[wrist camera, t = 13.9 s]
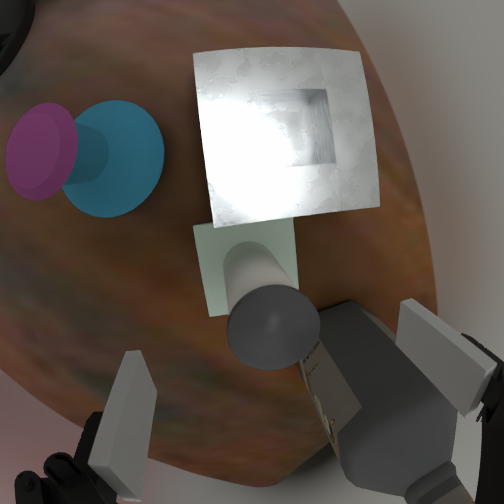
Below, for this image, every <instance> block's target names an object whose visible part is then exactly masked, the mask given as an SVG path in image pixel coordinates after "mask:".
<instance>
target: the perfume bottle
mask: <svg viewBox="0 0 504 504" xmlns="http://www.w3.org/2000/svg"><path fill="white" fill-rule="evenodd" d="M164 156H165V148H164V142H163V137H162V135H161V132H160V130H159V127H158V125H157V124H156V122H155V121H154V119H153V118H152V116H151V115H150V114H148V113H147V112H146V111H145V110H144V109H143V108H141V107H139V106H138V105H136V104H134V103H130V102H127V101H120V100H112V101H105V102H102V103H99V104H96V105H94V106H92V107H90V108H88V109H87V110H85V111H84V112H83V113H81V114H80V115H79V116H78V117H77V118H76V119H75V120H73V118H72V116H71V114H70V113H69V112H68V111H67V110H66V109H65V108H64V107H62V106H61V105H59V104H55V103H42V104H39V105H36V106H34V107H32V108H31V109H29V110H28V111H27V112H26V113H24V114H23V116H22V117H21V118H20V119H19V120H18V121H17V123H16V125H15V126H14V128H13V130H12V132H11V134H10V136H9V139H8V143H7V147H6V153H5V167H6V173H7V176H8V180H9V182H10V184H11V186H12V187H13V189H14V190H15V191H16V193H18V194H19V195H20V196H21V197H23V198H25V199H27V200H33V201H38V200H43V199H46V198H48V197H50V196H52V195H53V194H54V193H56V192H57V191H58V190H59V189H60V188H61V187H62V189H63V191H64V193H65V194H66V196H67V198H68V199H69V200H70V201H71V202H72V203H73V205H74V206H75V207H77V208H78V209H80V210H81V211H83V212H84V213H87V214H89V215H92V216H96V217H102V218H105V217H115V216H119V215H123V214H125V213H127V212H129V211H131V210H133V209H134V208H136V207H137V206H138V205H140V204H141V203H142V202H143V201H144V200H145V199H146V198H147V197H148V196H149V195H150V194H151V192H152V191H153V189H154V188H155V186H156V185H157V183H158V181H159V178H160V176H161V173H162V170H163V165H164Z"/></svg>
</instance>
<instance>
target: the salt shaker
mask: <svg viewBox="0 0 504 504" xmlns="http://www.w3.org/2000/svg"><path fill="white" fill-rule="evenodd" d="M223 271H224V280H225V289H226V298H227V306H228V314H229V317H228V321H227V335H228V343H229V346H230V349H231V351H232V352H233V354H234V355H235V356H236V358H237V359H238V360H240V361H241V362H242V363H244V364H245V365H247V366H249V367H252V368H255V369H259V370H278V369H282V368H286V367H288V366H291V365H293V364H295V363H297V362H298V361H300V360H301V359H302V358H304V357H305V356H306V355H307V354H308V353H309V352H310V351H311V349H312V348H313V346H314V345H315V343H316V341H317V339H318V336H319V332H320V318H319V314H318V312H317V310H316V308H315V306H314V305H313V304H312V302H311V301H310V300H309V298H308V297H307V296H306V295H305V294H304V293H302V292H301V291H299V290H298V289H297V288H296V286H295V285H294V283H293V282H292V281H291V279H290V278H289V276H288V275H287V274H286V272H285V271H284V270H283V268H282V267H281V265H280V264H279V263H278V261H277V260H276V258H275V257H274V256H273V254H272V253H271V252H270V250H269V249H268V248H267V247H266V246H264V245H263V244H260V243H258V242H253V241H247V242H242V243H239V244H237V245H235V246H234V247H233V248H231V249H230V251H229V252H228V253H227V255H226V257H225V259H224V263H223Z"/></svg>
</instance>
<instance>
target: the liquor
mask: <svg viewBox="0 0 504 504" xmlns="http://www.w3.org/2000/svg"><path fill="white" fill-rule="evenodd" d="M318 314H319V318H320V332H319V336H318V339H317V341H316V343H315V345H314V346H313V348H312V349H311V351H310V352H309V353H308V354H307V355H306V356H305V357H304V358H302V359H301V360H300V361H298V365H299V369H300V374H301V376H302V378H303V381H304V383H305V385H306V387H307V390H308V392H309V394H310V397H311V399H312V401H313V403H314V406H315V408H316V410H317V412H318V415H319V417H320V419H321V422H322V424H323V426H324V428H325V431H326V433H327V435H328V437H329V440H330V442H331V444H332V446H333V449H334V451H335V453H336V455H337V458H338V460H339V462H340V464H341V467H342V469H343V471H344V474H345V476H346V478H347V479H348V480H349V481H350V482H351V483H353V484H354V485H355V486H357V487H360V488H364V489H368V490H372V491H377V492H381V493H386V494H391V495H396V496H402V497H404V498H405V501H406V503H407V504H475V502H474V500H473V499H472V497H471V496H470V494H469V493H468V492H467V490H466V489H465V487H464V486H463V484H462V483H461V481H460V480H459V478H458V477H457V475H456V467H455V466H454V464H453V463H452V462H451V458H452V451H453V445H454V438H455V431H456V422H457V412H458V410H457V409H456V408H455V407H454V406H453V405H452V404H451V403H450V402H449V400H448V399H447V398H446V397H445V396H444V395H443V394H442V393H441V392H440V391H439V390H438V389H437V387H436V386H435V385H434V384H433V383H432V382H431V381H430V380H429V379H428V378H427V377H426V376H425V375H424V374H423V373H422V372H421V370H420V369H419V368H418V367H417V366H416V365H415V364H414V363H413V362H412V361H411V360H410V359H409V358H408V357H407V356H406V355H405V354H404V353H403V352H402V351H401V350H400V349H399V348H398V347H397V346H396V345H395V342H396V335H395V334H394V333H393V332H392V331H391V330H390V329H389V328H388V327H387V326H386V325H385V324H383V323H382V322H381V321H380V320H379V319H378V318H377V317H376V316H375V315H374V314H373V313H372V312H371V311H370V310H368V309H366V308H364V307H362V306H360V305H358V304H357V303H355V302H353V301H350V302H346V303H343V304H340V305H337V306H335V307H332V308H329V309H326V310H323V311H320V312H318Z"/></svg>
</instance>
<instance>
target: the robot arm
mask: <svg viewBox="0 0 504 504" xmlns="http://www.w3.org/2000/svg"><path fill="white" fill-rule="evenodd" d="M33 16H34V2H33V0H0V75H1V74H2V72H3V71H4V70H5V69H6V67H7V66H8V65H9V63H10V62H11V61H12V59H13V58H14V56H15V55H16V53H17V52H18V50H19V48H20V47H21V45H22V43H23V41H24V39H25V38H26V35H27V33H28V31H29V29H30V26H31V23H32V20H33ZM395 345H396V346H397V347H398V348H399V349H400V350H401V351H402V352H403V353H404V354H405V355H406V356H407V357H408V358H409V359H410V360H411V361H412V362H413V363H414V364H415V365H416V366H417V367H418V368H419V369H420V370H421V372H422V373H423V374H424V375H425V376H426V377H427V378H428V379H429V380H430V381H431V382H432V383H433V384H434V385H435V386H436V387H437V389H438V390H439V391H440V392H441V393H442V394H443V395H444V396H445V397H446V398H447V399H448V400H449V402H450V403H451V404H452V405H453V406H454V407H455V408H456V409H457V410H458V411H459V412H460V414H461V415H462V416H463V417H464V418H466V417H467V416H469V415H470V414H472V413H473V412H474V411H476V409H477V407H478V405H479V403H480V401H481V402H482V403H483V404H484V406H483V408H482V410H481V411H480V413H479V416H478V417H477V420H476V422H478V421H479V419H480V417H481V416H482V420H481V422H482V444H481V459H480V470H479V478H478V486H477V493H476V499H475V504H504V362H503V361H502V360H501V359H499V358H498V357H497V356H496V355H494V354H493V353H492V352H491V351H489V350H488V349H487V348H484V346H483V345H482V344H480V343H478V342H477V341H476V340H475V339H474V338H472V337H471V336H468V335H466V334H463V333H462V334H459V333H458V332H457V331H456V330H454V329H453V328H451V327H450V326H449V325H448V324H446V323H445V322H443V321H442V320H441V319H440V318H438V317H437V316H436V315H434V314H433V313H432V312H430V311H429V310H427V309H426V308H425V307H423V306H422V305H421V304H419V303H418V302H416V301H415V300H414V299H412V298H411V299H407V300H404V301H401V304H400V313H399V321H398V328H397V335H396V342H395ZM156 397H157V390H156V388H155V386H154V383H153V381H152V378H151V376H150V374H149V371H148V369H147V366H146V363H145V361H144V358H143V355H142V353H141V350H137V351H126V353H125V355H124V358H123V360H122V363H121V366H120V368H119V371H118V373H117V376H116V379H115V382H114V384H113V387H112V390H111V393H110V395H109V398H108V401H107V404H106V407H105V410H104V412H93V414H92V415H91V416H90V417H89V418H88V419H87V421H86V424H85V427H84V431H83V432H82V435H81V439H80V441H79V443H78V447H77V449H76V452H75V456H74V458H72V457H71V456H70V455H69V454H67V453H63V452H58V453H55V454H52V455H51V456H49V457H48V458H47V460H46V461H45V463H44V467H43V469H44V473H45V474H46V475H47V476H48V478H40V477H39V476H38V475H37V474H36V473H35V472H32V471H23V472H21V473H20V474H19V475H18V476H17V478H16V479H15V484H14V486H15V498H16V504H118V503H117V502H116V498H117V494H118V495H119V496H120V497H121V498H122V499H123V500H127V501H137V502H142V497H143V488H144V478H145V470H146V462H147V454H148V447H149V440H150V433H151V427H152V420H153V414H154V408H155V402H156Z"/></svg>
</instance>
